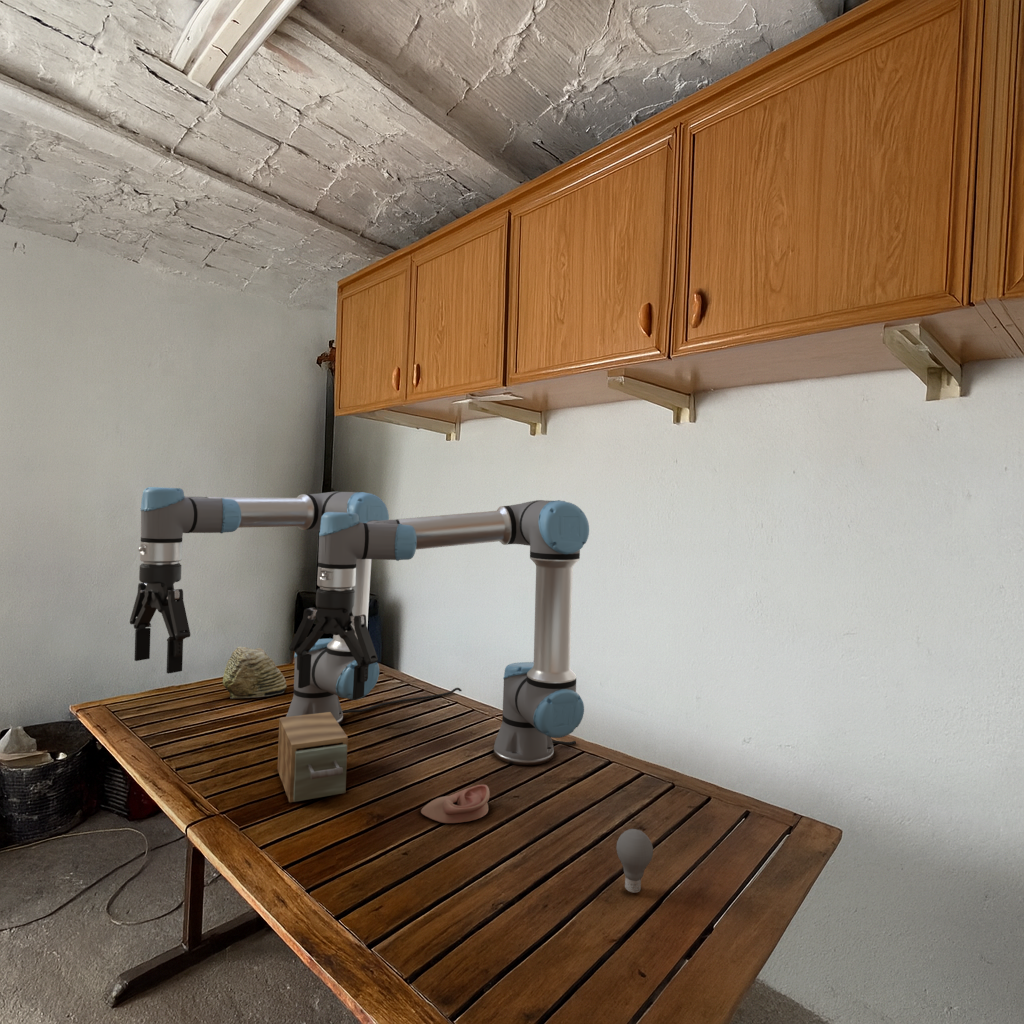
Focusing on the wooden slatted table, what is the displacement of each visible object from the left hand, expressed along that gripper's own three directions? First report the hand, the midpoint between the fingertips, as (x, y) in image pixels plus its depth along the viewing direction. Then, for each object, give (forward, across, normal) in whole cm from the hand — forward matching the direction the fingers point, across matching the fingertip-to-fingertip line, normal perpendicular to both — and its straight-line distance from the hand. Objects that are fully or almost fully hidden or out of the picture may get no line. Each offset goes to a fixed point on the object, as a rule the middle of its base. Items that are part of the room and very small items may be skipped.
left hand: (157, 665), depth 130 cm
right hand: (+4, +30, +20) cm, 36 cm away
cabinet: (+27, +18, +25) cm, 41 cm away
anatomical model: (+27, +51, +36) cm, 68 cm away
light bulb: (+27, +91, +34) cm, 101 cm away
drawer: (+26, +23, +23) cm, 42 cm away
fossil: (+27, -45, +51) cm, 73 cm away
